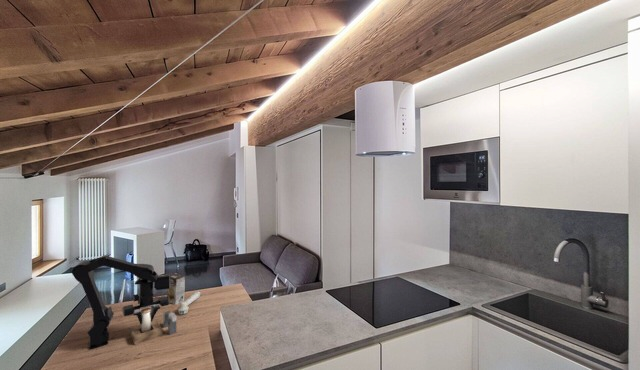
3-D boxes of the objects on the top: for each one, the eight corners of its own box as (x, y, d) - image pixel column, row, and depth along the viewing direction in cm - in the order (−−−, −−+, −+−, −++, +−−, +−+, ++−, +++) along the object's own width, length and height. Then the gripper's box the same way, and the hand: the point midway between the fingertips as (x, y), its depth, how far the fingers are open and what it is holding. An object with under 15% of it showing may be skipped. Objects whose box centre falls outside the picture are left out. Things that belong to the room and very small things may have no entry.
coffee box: (166, 301, 174) (166, 276, 173) (175, 297, 179) (175, 273, 179) (175, 305, 169) (175, 278, 169) (184, 301, 175) (185, 275, 175)
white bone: (202, 290, 182) (186, 302, 157) (201, 301, 181) (185, 314, 157) (193, 290, 182) (176, 302, 157) (193, 301, 181) (176, 314, 156)
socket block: (134, 344, 128) (134, 338, 128) (130, 334, 137) (130, 328, 137) (162, 335, 136) (162, 329, 136) (156, 326, 145) (156, 320, 145)
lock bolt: (172, 321, 135) (172, 317, 135) (168, 317, 140) (168, 313, 140) (176, 320, 137) (176, 316, 137) (173, 316, 141) (173, 312, 141)
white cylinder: (142, 333, 134) (142, 312, 134) (140, 329, 137) (140, 309, 136) (151, 330, 136) (152, 310, 136) (149, 326, 139) (150, 307, 139)
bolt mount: (169, 334, 137) (169, 320, 137) (163, 325, 145) (163, 312, 145) (176, 332, 139) (176, 318, 139) (169, 323, 147) (169, 310, 147)
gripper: (163, 282, 148) (162, 311, 149) (120, 291, 136) (120, 322, 136) (169, 288, 140) (168, 319, 141) (124, 298, 128) (124, 332, 128)
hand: (146, 322), depth 136 cm, fingers closed on white cylinder, 4 cm apart
